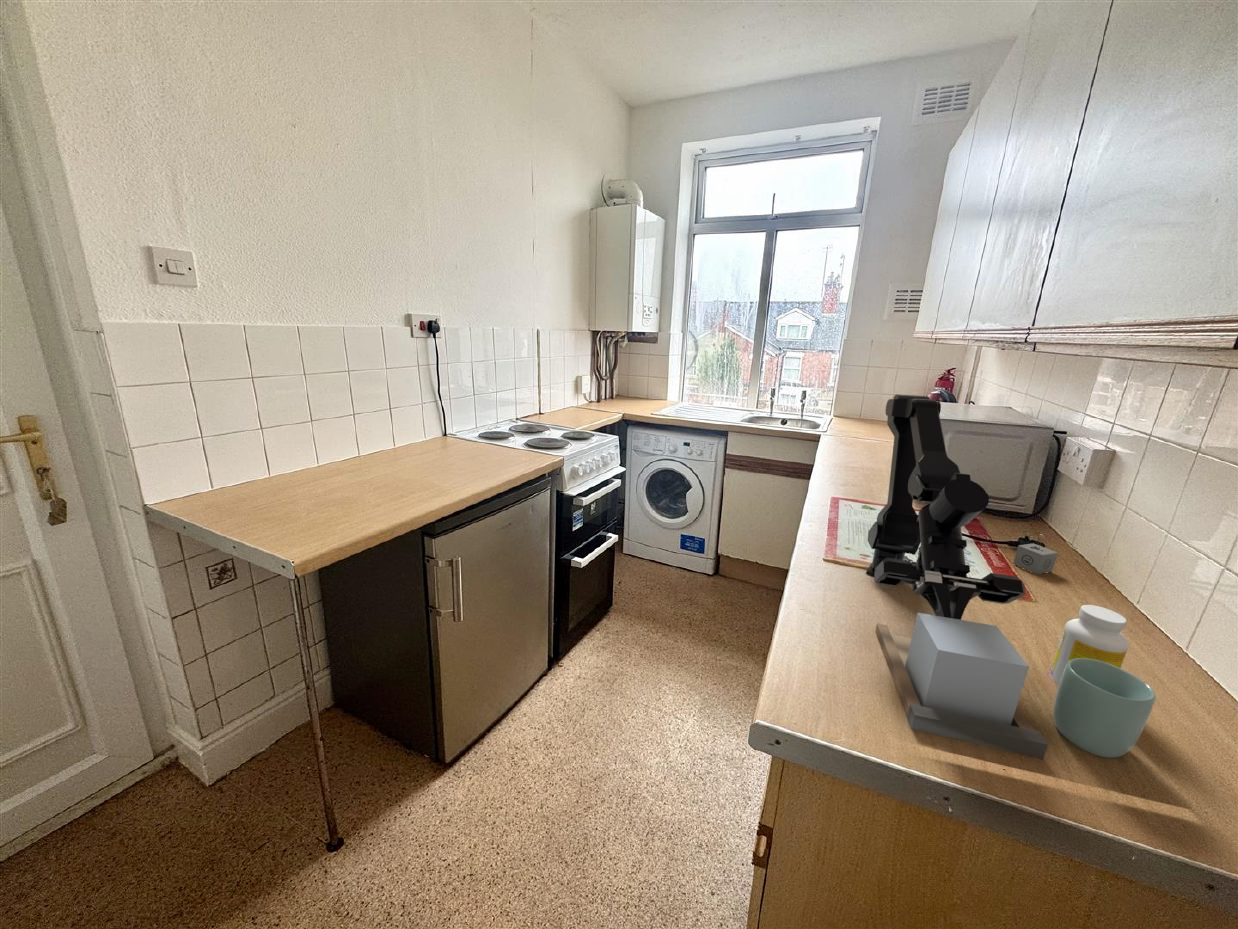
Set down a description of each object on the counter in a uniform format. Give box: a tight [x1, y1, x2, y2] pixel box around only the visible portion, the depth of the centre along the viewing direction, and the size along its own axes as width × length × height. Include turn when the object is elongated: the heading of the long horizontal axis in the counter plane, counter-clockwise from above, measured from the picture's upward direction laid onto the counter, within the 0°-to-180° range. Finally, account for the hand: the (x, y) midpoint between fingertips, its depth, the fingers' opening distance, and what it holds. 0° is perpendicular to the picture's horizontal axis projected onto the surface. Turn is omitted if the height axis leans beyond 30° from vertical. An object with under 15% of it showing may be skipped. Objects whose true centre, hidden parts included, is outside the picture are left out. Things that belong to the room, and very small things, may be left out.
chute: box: [874, 623, 1049, 760], centre depth 70 cm, size 22×14×3 cm, turn 163°
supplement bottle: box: [1049, 604, 1129, 686], centre depth 69 cm, size 7×7×13 cm
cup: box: [1053, 658, 1156, 759], centre depth 60 cm, size 8×8×10 cm
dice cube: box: [1012, 543, 1059, 576], centre depth 108 cm, size 5×5×5 cm
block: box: [905, 612, 1030, 726], centre depth 66 cm, size 9×10×10 cm
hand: (950, 636), depth 70 cm, fingers closed, pressing on block
